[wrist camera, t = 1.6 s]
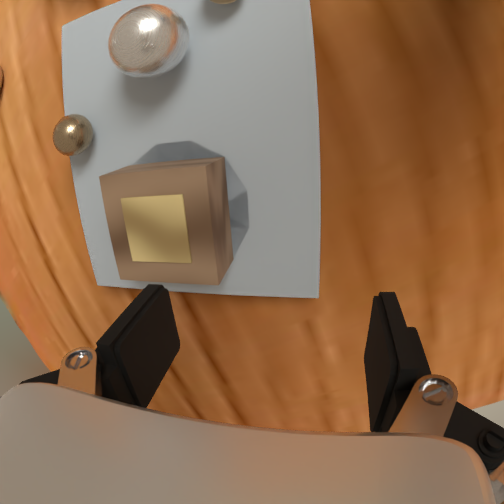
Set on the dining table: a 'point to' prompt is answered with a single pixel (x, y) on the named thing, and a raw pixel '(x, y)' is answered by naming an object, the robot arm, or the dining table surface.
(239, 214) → the hole board
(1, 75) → the plastic bottle
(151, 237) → the walnut cover
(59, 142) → the bronze ball
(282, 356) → the dining table surface
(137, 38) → the steel boule
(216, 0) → the ball
